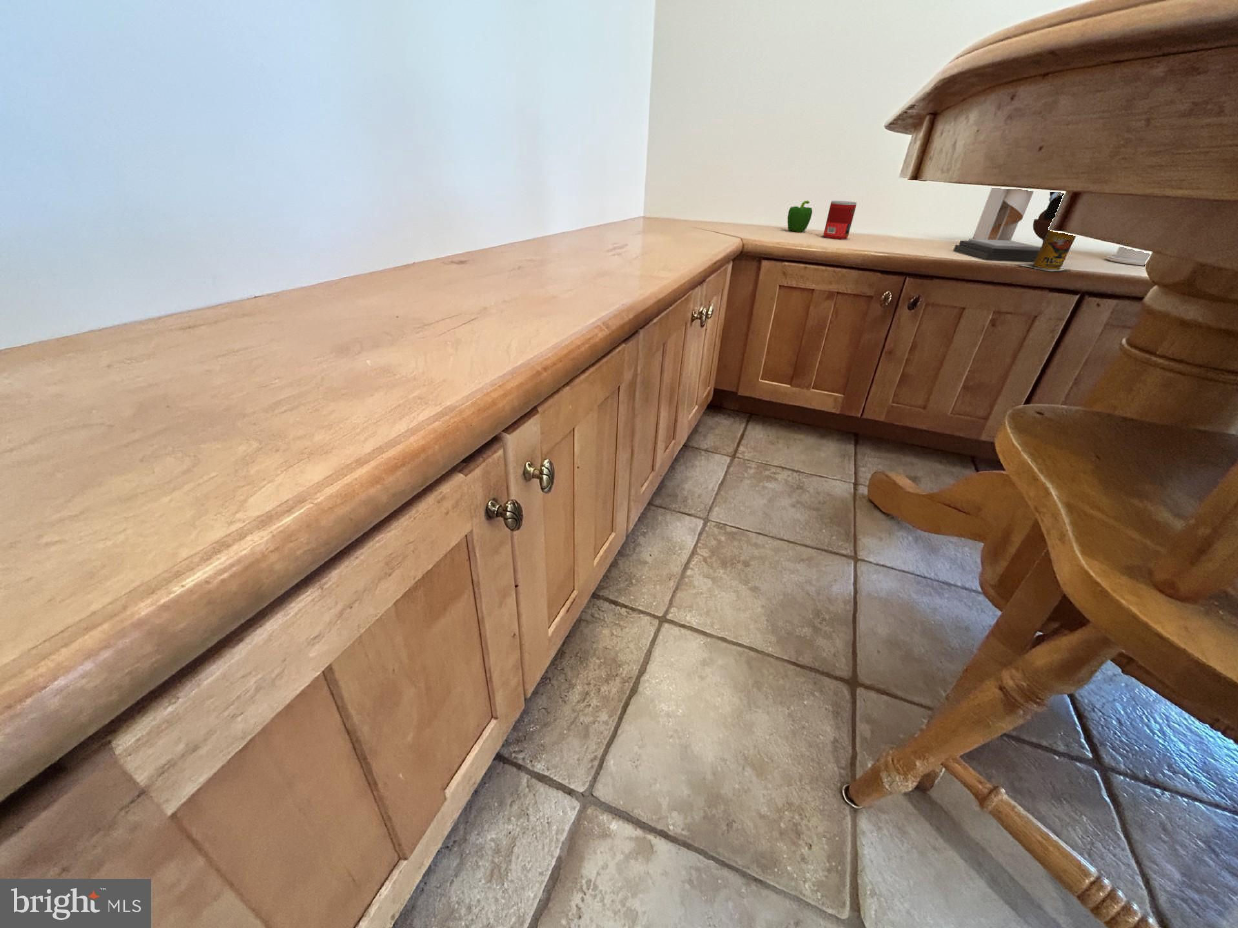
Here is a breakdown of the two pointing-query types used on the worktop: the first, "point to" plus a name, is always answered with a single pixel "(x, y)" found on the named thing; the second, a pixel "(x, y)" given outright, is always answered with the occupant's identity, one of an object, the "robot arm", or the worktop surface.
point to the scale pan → (1004, 244)
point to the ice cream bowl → (1041, 226)
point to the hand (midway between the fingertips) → (1063, 221)
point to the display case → (1002, 213)
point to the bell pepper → (799, 217)
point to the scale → (996, 252)
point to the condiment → (1053, 251)
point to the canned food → (839, 219)
